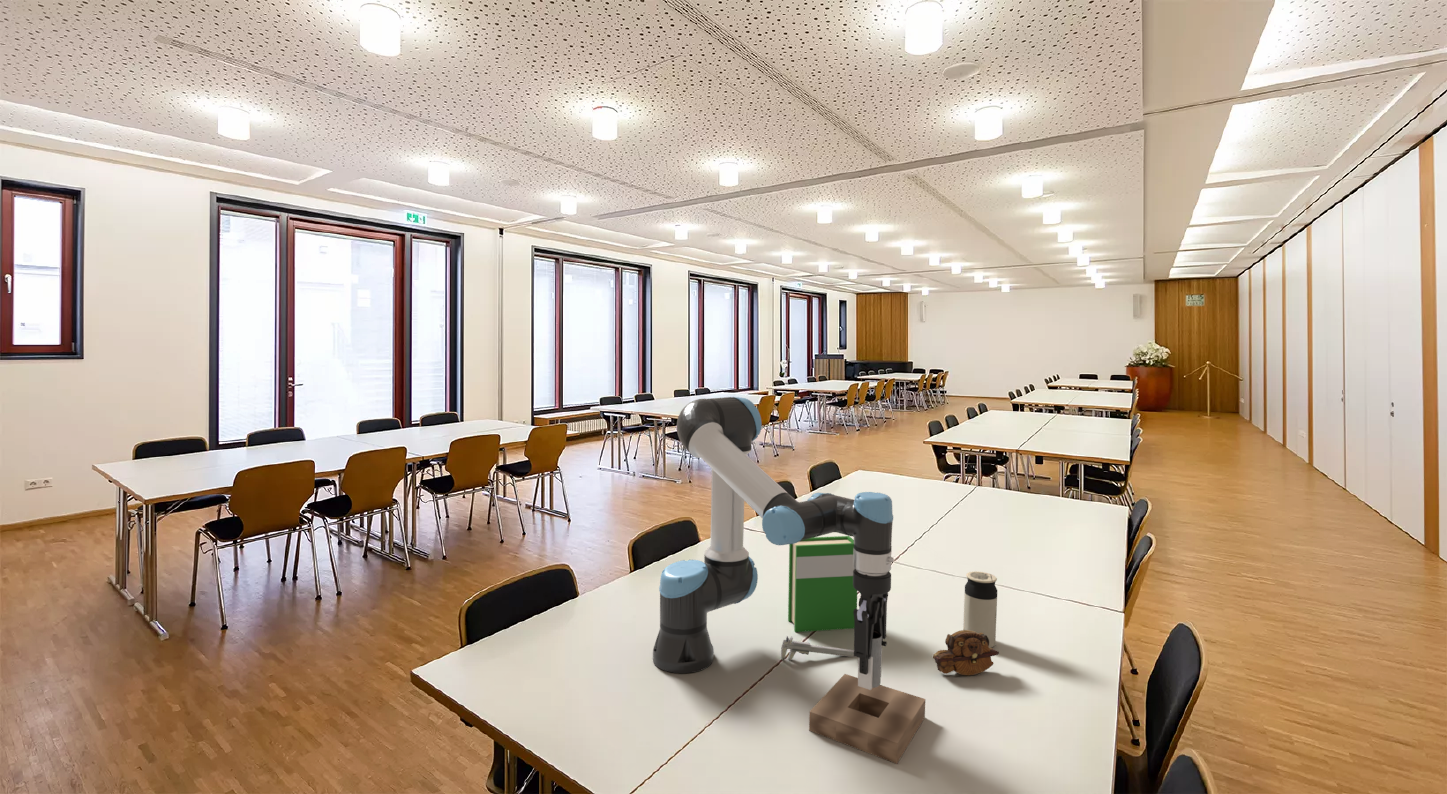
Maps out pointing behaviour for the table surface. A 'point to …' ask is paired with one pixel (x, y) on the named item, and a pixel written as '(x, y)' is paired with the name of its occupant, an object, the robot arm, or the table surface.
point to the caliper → (810, 649)
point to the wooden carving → (965, 653)
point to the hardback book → (821, 584)
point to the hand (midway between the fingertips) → (869, 681)
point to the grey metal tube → (876, 658)
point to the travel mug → (981, 605)
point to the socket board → (868, 718)
